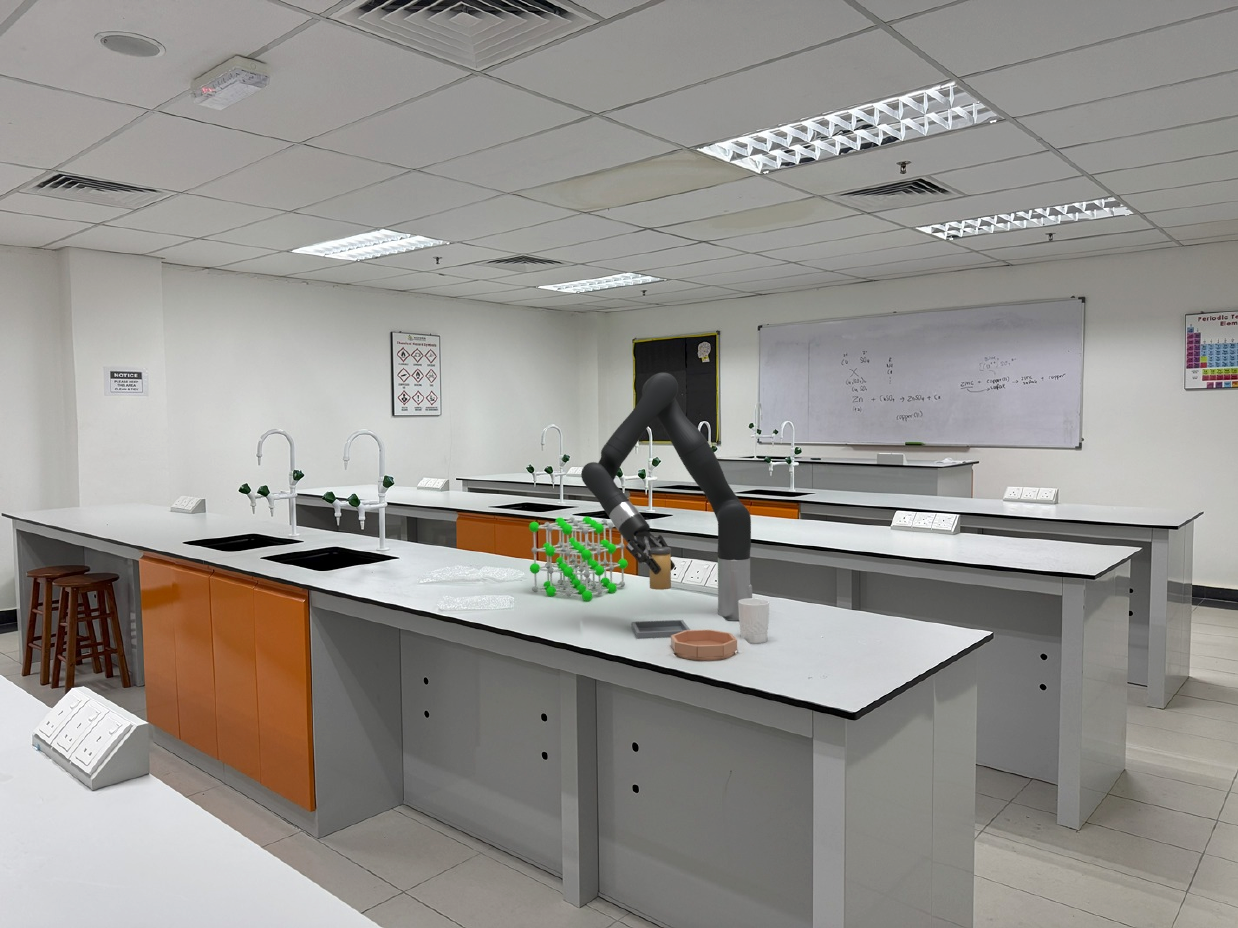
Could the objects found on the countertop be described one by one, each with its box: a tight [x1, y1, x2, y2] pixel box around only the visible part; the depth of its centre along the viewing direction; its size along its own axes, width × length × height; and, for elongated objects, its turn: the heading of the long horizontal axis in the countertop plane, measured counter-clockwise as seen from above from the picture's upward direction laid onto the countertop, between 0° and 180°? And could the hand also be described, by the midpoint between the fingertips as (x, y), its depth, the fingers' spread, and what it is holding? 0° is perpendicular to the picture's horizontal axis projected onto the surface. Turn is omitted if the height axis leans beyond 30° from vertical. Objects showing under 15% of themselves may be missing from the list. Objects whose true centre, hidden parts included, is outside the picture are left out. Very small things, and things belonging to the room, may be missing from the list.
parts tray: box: [631, 619, 691, 640], centre depth 217 cm, size 14×12×2 cm
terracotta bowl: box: [670, 629, 738, 662], centre depth 200 cm, size 15×15×4 cm
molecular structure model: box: [528, 516, 629, 602], centre depth 275 cm, size 24×25×24 cm
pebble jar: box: [648, 546, 672, 591], centre depth 216 cm, size 6×6×10 cm
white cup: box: [738, 597, 770, 644], centre depth 211 cm, size 8×8×10 cm
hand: (665, 570), depth 215 cm, fingers closed on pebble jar, 5 cm apart
